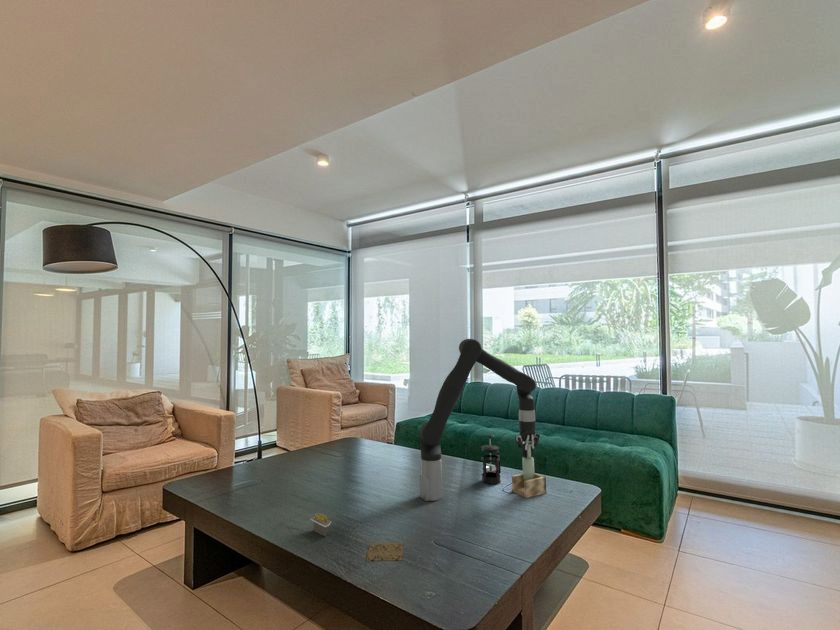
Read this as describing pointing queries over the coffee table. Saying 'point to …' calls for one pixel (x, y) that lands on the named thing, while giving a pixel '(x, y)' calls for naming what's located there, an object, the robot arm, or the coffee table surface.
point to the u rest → (529, 485)
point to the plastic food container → (320, 523)
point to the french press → (490, 472)
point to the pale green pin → (528, 464)
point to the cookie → (385, 552)
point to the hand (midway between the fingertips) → (528, 456)
